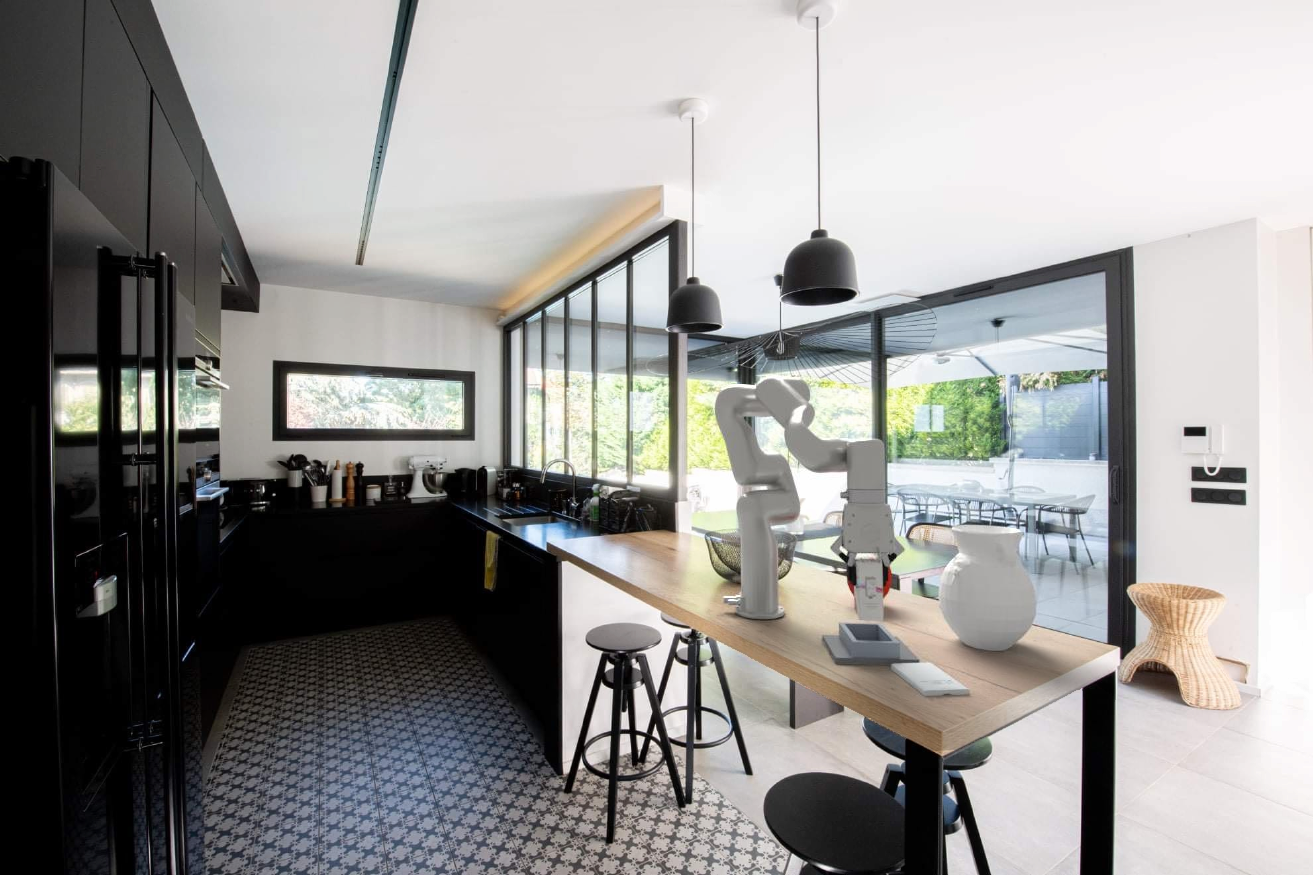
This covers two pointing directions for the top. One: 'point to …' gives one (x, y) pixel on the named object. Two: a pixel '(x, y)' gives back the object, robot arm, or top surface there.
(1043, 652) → the top surface
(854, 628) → the dock
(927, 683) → the external hard drive
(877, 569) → the ink cartridge box
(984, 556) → the white vase
